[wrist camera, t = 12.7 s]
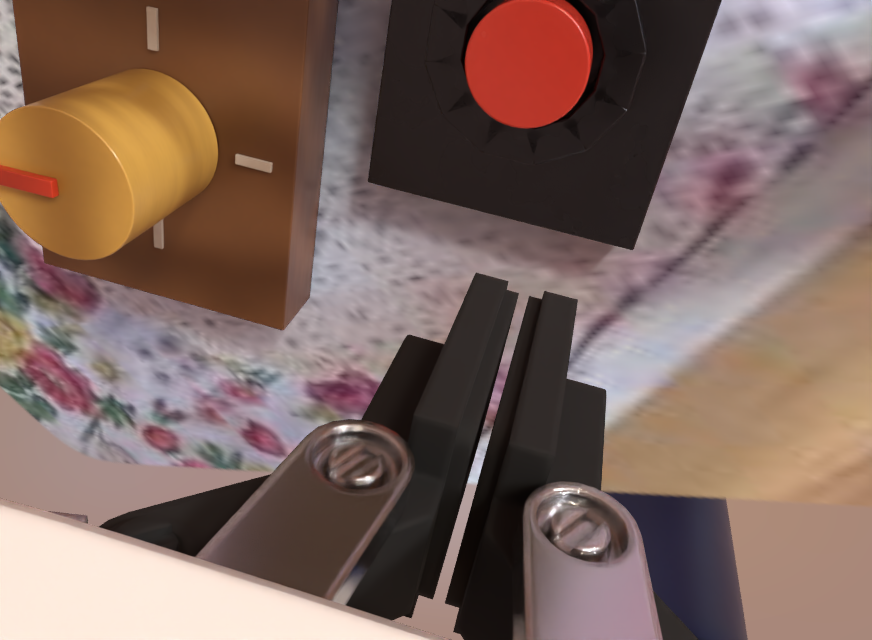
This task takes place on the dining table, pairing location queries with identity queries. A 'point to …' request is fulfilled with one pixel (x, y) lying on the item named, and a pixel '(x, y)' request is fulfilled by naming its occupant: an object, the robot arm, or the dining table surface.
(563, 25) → the red button
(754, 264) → the dining table surface
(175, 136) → the dial knob
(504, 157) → the button box
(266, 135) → the knob panel
